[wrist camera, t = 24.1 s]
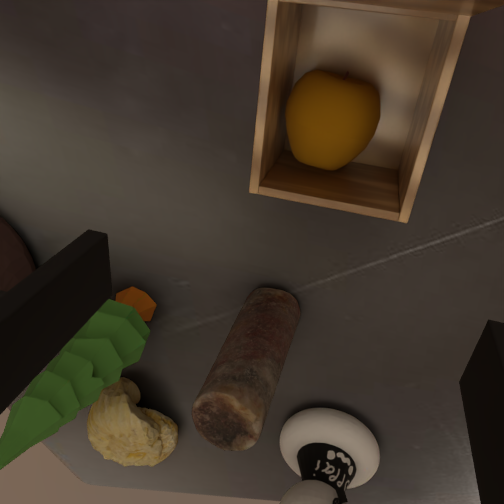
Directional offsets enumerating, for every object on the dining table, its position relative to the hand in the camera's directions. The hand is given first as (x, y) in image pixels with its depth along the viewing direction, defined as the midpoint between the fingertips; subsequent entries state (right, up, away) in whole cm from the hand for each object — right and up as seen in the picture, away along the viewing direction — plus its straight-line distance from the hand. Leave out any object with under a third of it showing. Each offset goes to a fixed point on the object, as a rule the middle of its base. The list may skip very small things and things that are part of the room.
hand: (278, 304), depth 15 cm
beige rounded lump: (-19, -24, +61) cm, 69 cm away
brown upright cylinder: (+2, -5, +44) cm, 44 cm away
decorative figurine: (+11, -26, +53) cm, 60 cm away
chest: (+9, +18, +28) cm, 35 cm away
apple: (+5, +10, +28) cm, 30 cm away
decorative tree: (-17, -6, +51) cm, 54 cm away
